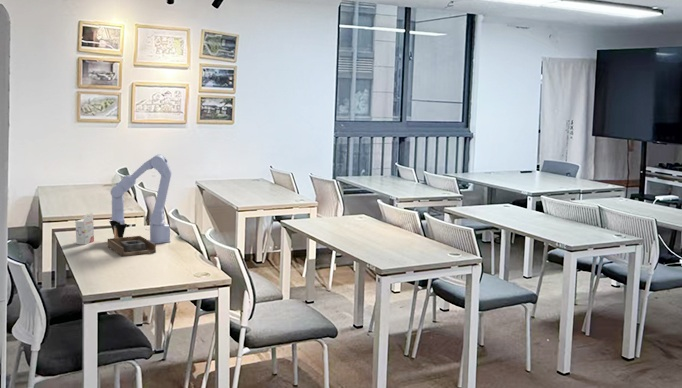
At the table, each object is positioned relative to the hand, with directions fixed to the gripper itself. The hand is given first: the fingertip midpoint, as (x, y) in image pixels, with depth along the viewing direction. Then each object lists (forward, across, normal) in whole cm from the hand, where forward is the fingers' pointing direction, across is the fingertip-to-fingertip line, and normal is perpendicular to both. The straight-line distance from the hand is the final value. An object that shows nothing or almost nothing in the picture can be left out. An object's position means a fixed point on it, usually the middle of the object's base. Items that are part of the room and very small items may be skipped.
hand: (118, 236), depth 346 cm
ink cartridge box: (+3, -5, -15) cm, 16 cm away
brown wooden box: (+3, +20, 0) cm, 20 cm away
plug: (+3, 0, 0) cm, 3 cm away
